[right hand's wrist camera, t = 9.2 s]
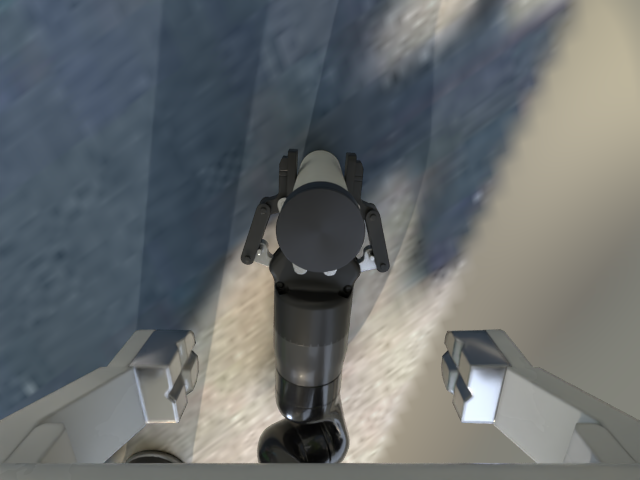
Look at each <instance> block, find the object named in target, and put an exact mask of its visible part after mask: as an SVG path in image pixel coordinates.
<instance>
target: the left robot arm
mask: <svg viewBox="0 0 640 480" xmlns="http://www.w3.org/2000/svg"><path fill="white" fill-rule="evenodd" d="M297 161H298V149H289V151H288V156H283V157H282V159H281V162H280V164H279V193H278V194H277V195H275V196H272V197H264V198H263V199H262V200H261V202H260V204H259V205H258V207H257V209H256V212H255V215H254V218H253V221H252V224H251V227H250V230H249V234H248V237H247V240H246V243H245V246H244V249H243V252H242V255H241V261H242V262H243V263H244V264H246V265H250V264H252V263H253V262H256V263H259V264H262V265H265V266H268V267H269V270H270V272H271V274H272V275H273V278H274V283H275V284H274V353H275V360H276V370H275V398H276V404H277V407H278V409H279V411H280V413H281V414H282V415H283V416H284V417H285V419H283V420H280V421H278V422H276V423H274V424H272V425H270V426H269V427H267V428H266V429H265V430H264V431H263V433H262V435H261V436H260V439H259V442H258V448H257V457H258V463H341V462H342V461H343V459H344V458H345V456H346V454H347V452H348V449H349V434H348V430H347V426H346V423H345V419H344V414H343V409H342V403H341V398H340V387H341V377H342V367H343V362H344V359H345V355H346V350H347V343H348V333H349V324H350V314H351V305H352V295H353V286H354V283H355V281H356V279H357V278H358V277H359V275H360V272H363V271H367V270H372V269H376V268H377V270H378V271H379V272H386V271H387V270H388V269H389V267H390V265H389V259H388V254H387V249H386V244H385V239H384V234H383V229H382V223H381V218H380V214H379V212H378V210H377V209H376V207H375V205H374V204H372V203H367V202H365V201H363V200H361V187H362V178H363V166H362V163H361V161H360V160H356V154H355V153H346V163H345V175H344V180H345V183H346V186H347V189H348V192H349V193H350V194H351V195H352V196H353V197H354V198H355V200H356V202H357V204H358V206H359V208H360V211H361V214H362V216H363V219H364V220H365V222H366V227H367V232H368V237H369V241H370V245H368V246H366V247H365V248H364V250H363V256H362V257H361V258H360V259H357V257H356V256H355V257H354V258H353V259H352V260H351V261H350V262H349V263H348V264H346V265H345V266H343V267H341V268H339V269H336V270H333V271H329V272H312V271H308V270H305V269H302V268H300V267H298V266H296V265H295V264H293V263H292V262H291V261H290V260H289V259H288V258H287V257H286V256H285V255H284V254H283V252H282V250H281V249H280V247H279V248H278V249H277V251H276V252H275V253H274V254H271V253H270V252H269V250H268V246H269V245H268V242H267V241H266V240H264V239H262V238H263V235H264V232H265V229H266V226H267V223H268V220H269V218H270V215H271V214H275V213H278V212H279V213H280V211H281V208H282V206H283V204H284V202H285V200H286V198H287V197H288V196H289V195H290V194H291V193H292V192H293V189H294V185H295V182H296V179H297ZM126 463H182V462H181V461H180V460H178V459H177V458H175V457H174V456H172V455H169V454H167V453H163V452H159V451H144V452H140V453H137V454H135V455H133V456H131V457H130V458H129V459H128V460H127V461H126Z"/></svg>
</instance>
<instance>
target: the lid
mask: <svg viewBox="0 0 640 480" xmlns="http://www.w3.org/2000/svg"><path fill="white" fill-rule="evenodd" d="M276 236H277V241H278V244H279V246H280V249H281V250H282V252H283V254H284V255H285V256H286V257H287V258H288V259H289V260H290V261H291V262H292V263H293V264H295V265H296V266H298V267H300V268H302V269H305V270H308V271H312V272H329V271H333V270H336V269H339V268H341V267H343V266H345V265H346V264H348V263H349V262H350V261H351V260H352V259H353V258H354V257H355V256H356V255H357V254H358V252H359V251H360V249H361V247H362V244H363V241H364V237H365V224H364V219H363V216H362V214H361V211H360V208H359V206H358V204H357V202H356V200H355V198H354V197H353V196H352V195H351V194H350V193H349V192H348V191H347V190H346V189H344V188H343V187H341V186H339V185H337V184H334V183H331V182H326V181H315V182H310V183H307V184H304V185H302V186H300V187H298V188H297V189H295V190H294V191H293V192H292V193H291V194H290V195H289V196H288V197H287V198H286V200H285V202H284V204H283V206H282V208H281V211H280V214H279V216H278V220H277V225H276Z"/></svg>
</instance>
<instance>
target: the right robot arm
mask: <svg viewBox="0 0 640 480" xmlns="http://www.w3.org/2000/svg"><path fill="white" fill-rule="evenodd" d="M195 343H196V342H195V337H194V333H193V332H192V331H191V330H138V331H135V333H134V334H133V335H132V336H131V337H130V339H129V340H128V341H127V342H126V344H125V345H124V346H123V347H122V349H121V350H120V351H119V352H118V353H117V355H116V356H115V357H114V358H113V360H112V361H111V362H110V363H109V365H108V366H107V367H100V368H98V369H96V370H94V371H92V372H91V373H89V374H87V375H85V376H83V377H81V378H79V379H77V380H76V381H74V382H72V383H70V384H68V385H66V386H64V387H62V388H60V389H59V390H57V391H55V392H53V393H51V394H49V395H47V396H45V397H43V398H42V399H40V400H38V401H36V402H34V403H32V404H30V405H28V406H26V407H25V408H23V409H21V410H19V411H17V412H15V413H13V414H11V415H9V416H8V417H6V418H4V419H2V420H0V480H640V420H638V419H636V418H634V417H632V416H630V415H628V414H626V413H625V412H623V411H621V410H619V409H617V408H615V407H613V406H611V405H610V404H608V403H606V402H604V401H602V400H600V399H598V398H596V397H595V396H593V395H591V394H589V393H587V392H585V391H583V390H581V389H579V388H578V387H576V386H574V385H572V384H570V383H568V382H566V381H564V380H563V379H561V378H559V377H557V376H555V375H553V374H551V373H549V372H547V371H546V370H544V369H542V368H540V367H533V366H532V365H531V363H530V362H529V361H528V360H527V358H526V357H525V356H524V355H523V354H522V352H521V351H520V350H519V349H518V347H517V346H516V345H515V344H514V343H513V341H512V340H511V339H510V338H509V336H508V335H507V334H506V333H505V332H504V331H503V330H500V329H498V330H475V331H474V330H473V331H447V333H446V336H445V342H444V343H445V345H446V347H447V349H448V351H447V352H446V353H445V354H444V355H443V356H442V364H441V368H442V377H443V381H444V384H445V387H446V389H447V390H448V391H449V392H450V393H452V394H453V395H454V396H453V405H454V407H455V409H456V412H457V414H458V416H459V418H460V420H461V422H462V423H494V425H495V426H496V427H497V428H498V429H499V430H500V431H501V432H502V433H504V434H505V435H506V436H507V437H508V438H509V439H510V440H511V441H513V442H514V443H515V444H516V445H517V446H518V447H519V448H521V449H522V450H523V451H524V452H525V453H526V454H527V455H528V456H529V457H531V458H532V459H533V460H534V461H535V462H536V463H104V462H105V461H106V460H107V459H108V458H109V457H111V456H112V455H113V454H114V453H115V452H116V451H117V450H119V449H120V448H121V447H122V446H123V445H124V444H125V443H126V442H128V441H129V440H130V439H131V438H132V437H133V436H134V435H136V434H137V433H138V432H139V431H140V430H141V429H142V428H143V427H145V426H146V423H178V422H179V421H180V418H181V416H182V414H183V412H184V409H185V407H186V405H187V403H188V402H187V396H186V395H187V394H188V393H190V392H191V391H192V390H193V389H194V387H195V384H196V382H197V376H198V369H199V363H198V356H197V355H196V354H195V353H194V352H193V351H192V349H193V347H194V345H195Z"/></svg>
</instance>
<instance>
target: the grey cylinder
mask: <svg viewBox="0 0 640 480" xmlns="http://www.w3.org/2000/svg"><path fill="white" fill-rule="evenodd" d="M315 181H326V182H331V183H334V184H337V185H339V186H341V187H343V188H344V189H346V190H347V191H348V189H347V186H346V183H345V180H344V177H343V174H342V170H341V167H340V164H339V162H338V160H337V158H336V157H335V156H334V155H333V154H331V153H329V152H327V151H323V150H318V151H314V152H311V153H309V154H308V155H307V156H306V157H305V158H304V159H303V161H302V163H301V166H300V169H299V172H298V176H297V179H296V182H295V185H294V189H293V191H294V190H295V189H297V188H298V187H300V186H302V185H304V184H307V183H310V182H315Z"/></svg>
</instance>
